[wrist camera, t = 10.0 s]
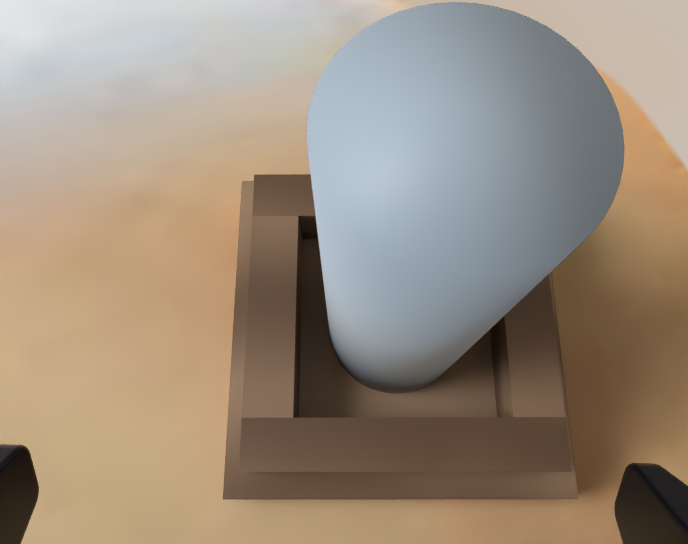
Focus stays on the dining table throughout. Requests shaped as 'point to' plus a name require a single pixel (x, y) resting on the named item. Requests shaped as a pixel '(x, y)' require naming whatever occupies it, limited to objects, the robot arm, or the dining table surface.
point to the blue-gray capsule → (450, 180)
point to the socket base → (374, 406)
